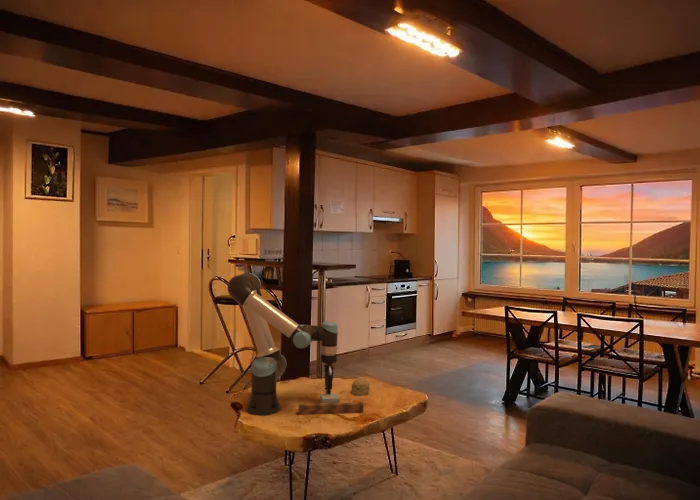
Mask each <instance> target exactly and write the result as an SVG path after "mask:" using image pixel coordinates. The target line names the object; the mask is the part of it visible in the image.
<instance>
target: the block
mask: <svg viewBox="0 0 700 500" xmlns="http://www.w3.org/2000/svg"><path fill="white" fill-rule="evenodd" d="M340 399H341V398H340V396H339V395H338V393H331V394H325V393H320V397H319V400H320V401H319V403H341V401H340Z"/></svg>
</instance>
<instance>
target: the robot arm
mask: <svg viewBox="0 0 700 500" xmlns="http://www.w3.org/2000/svg"><path fill="white" fill-rule="evenodd" d="M261 289H262V283H261V280H260V278H259V277H258V276H257V274H254V273H250V272H249V273H248V272H244V273H240V274H239V275H234V276H233V277H232V278H230V280H229V281H228V283H227V293H228V294H229V296H230V298H232V299H233V300H235V302H236V303H238V305H241V306H242V307H243V308H244V312H245V314H246V317H247V320H248V321H247V322H248V325H249V327H250V330H251V333H252V337H253V339H254V343H255V347H256V349H257V354H256V359H254V360H253V361H252V363H251V367H250V368H251V369H250V370H251V374H250V375H251V379H250V380H251V381H250V387H251V388H250V389H251V391H250V396H249V398H248V403H247V405H246V411H247V412H248V413H249V414H252V415H255V416H256V415H258V416H265V415H266V416H269V415H273V414H276V413H278V412H279V411H280V409H281V406H280V401H279V397H278V393H277V380H279V378H280V377H282V376H283V375H284V374H285V371H286V369H287V360H286V358H285V356H284V355H283V354H281V350H280V348H279V347H276V344H275V341H274V338H273V335H272V333H271V330H270V326H269V324H270V325H271V326H272V327H274V328H275V329H276V330H278V331H279V332H280V333H281V334H283V335H285V337H287V338H288V339H290V340H291V341H292V343H293V345H294V346H295V347H296V348H297V349H305V348H307V347H308V346H309V345H311V343H312V342H321V359H320V360H321V363H323V364H324V391H325V392H324V394H332V389H333V379H334V376H333V375H334V366H333V364H335V363H337V362H338V355H337V353H338V349H339V346H338V333H339V331H338V323H337V322H335V321H332V320H329V321H323V322H322V324H321V325H315V324H314V325H313V324H298V323H297V322H296V321H295V320H293V319H292V318H290V317H289V316H288V315H287V314H285V313H284V312H282V311H281V310H280V309H278V308H277V307H276V306H274V305H273V304H271V303H270V302H269V301H268V300H266V299H265V298H264V297H263V294H262V291H261Z"/></svg>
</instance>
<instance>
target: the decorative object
mask: <svg viewBox="0 0 700 500" xmlns="http://www.w3.org/2000/svg"><path fill="white" fill-rule="evenodd" d="M369 392H370V382H369V381H368V379H366V378H364V377H358V378H356V379H354V380H353V382H352V383H351V391H350V393H351V394H352V395H355V396H358V397H359V396H360V397H362V396H366V395H367V396H368V395H369Z"/></svg>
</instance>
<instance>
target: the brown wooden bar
mask: <svg viewBox="0 0 700 500" xmlns="http://www.w3.org/2000/svg"><path fill="white" fill-rule="evenodd" d="M297 412H298V415H299V416H304V415H307V416H308V415H309V416H310V415H312V416H313V415H332V414H333V415H334V414H361V413H362V414H363V413H364V402H362V401H358V402H356V401H355V402H339V403H320V402H319V403H298V411H297Z"/></svg>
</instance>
